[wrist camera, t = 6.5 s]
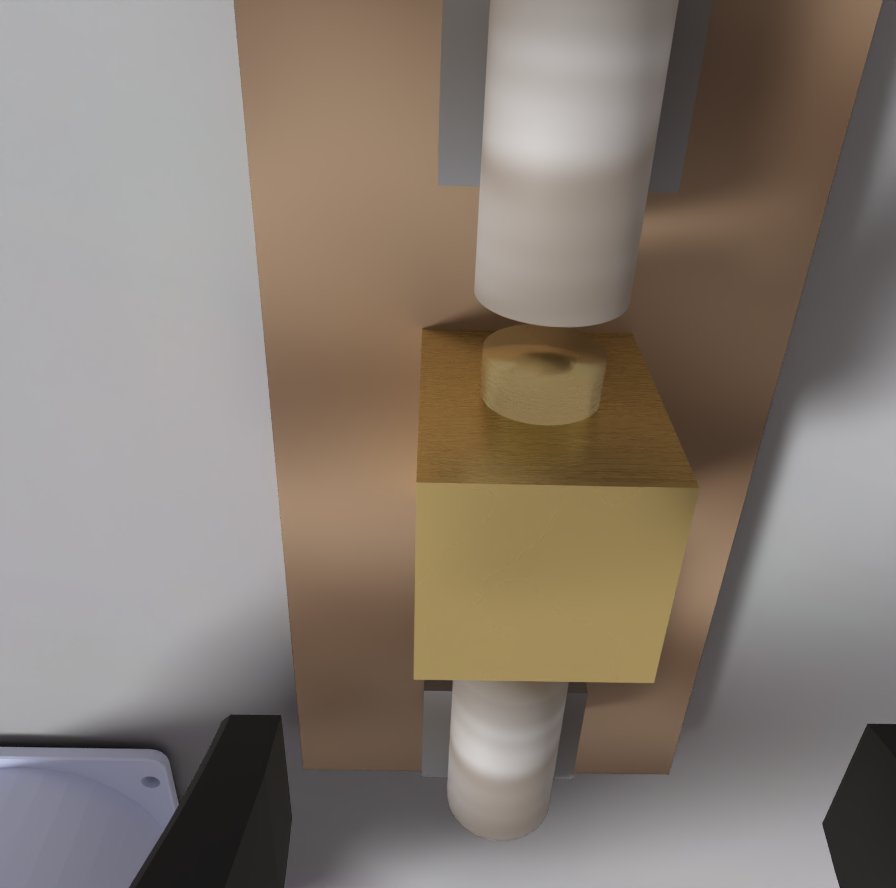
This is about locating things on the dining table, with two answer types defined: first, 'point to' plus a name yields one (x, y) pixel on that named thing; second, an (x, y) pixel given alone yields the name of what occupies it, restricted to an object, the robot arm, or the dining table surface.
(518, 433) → the block
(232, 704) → the dining table surface
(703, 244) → the shaft stand
